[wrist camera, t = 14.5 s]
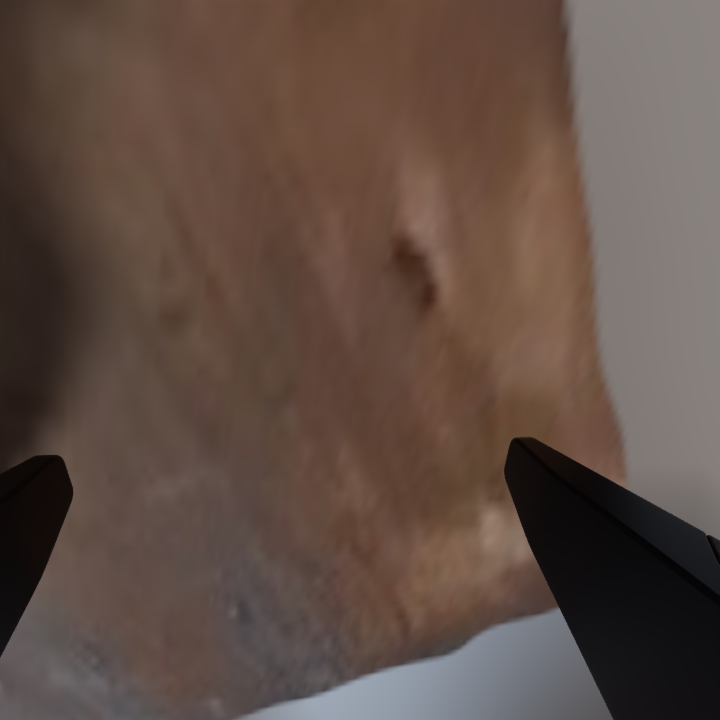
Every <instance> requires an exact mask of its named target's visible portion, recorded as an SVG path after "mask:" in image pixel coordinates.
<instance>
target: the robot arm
mask: <svg viewBox="0 0 720 720" xmlns="http://www.w3.org/2000/svg"><path fill="white" fill-rule="evenodd" d="M504 475H505V479H506V482H507V485H508V488H509V491H510V494H511V496H512V499H513V502H514V505H515V508H516V510H517V513H518V516H519V519H520V522H521V524H522V527H523V530H524V533H525V535H526V538H527V540H528V543H529V545H530V547H531V550H532V552H533V554H534V556H535V558H536V560H537V562H538V564H539V566H540V569H541V571H542V573H543V575H544V577H545V579H546V581H547V583H548V585H549V587H550V589H551V591H552V593H553V596H554V598H555V600H556V602H557V604H558V606H559V608H560V610H561V612H562V614H563V616H564V618H565V620H566V622H567V625H568V627H569V629H570V630H571V633H572V635H573V637H574V639H575V641H576V643H577V645H578V647H579V649H580V651H581V654H582V656H583V658H584V660H585V662H586V664H587V666H588V668H589V670H590V672H591V674H592V676H593V678H594V681H595V682H596V685H597V687H598V689H599V691H600V693H601V695H602V697H603V699H604V701H605V703H606V705H607V707H608V710H609V712H610V714H611V716H612V718H613V720H720V540H718V539H716V538H714V537H712V536H710V535H707V536H706V534H705V533H704V532H703V531H701V530H700V529H698V528H696V527H694V526H692V525H690V524H689V523H687V522H685V521H683V520H681V519H680V518H678V517H676V516H674V515H672V514H671V513H669V512H667V511H665V510H663V509H661V508H660V507H658V506H656V505H654V504H652V503H651V502H649V501H647V500H645V499H643V498H642V497H640V496H638V495H636V494H634V493H632V492H631V491H629V490H627V489H625V488H623V487H622V486H620V485H618V484H616V483H614V482H613V481H611V480H609V479H607V478H605V477H603V476H602V475H600V474H598V473H596V472H594V471H593V470H591V469H589V468H587V467H585V466H584V465H582V464H580V463H578V462H576V461H574V460H573V459H571V458H569V457H567V456H565V455H564V454H562V453H560V452H558V451H556V450H555V449H553V448H551V447H549V446H547V445H545V444H544V443H542V442H540V441H538V440H536V439H535V438H532V437H518V438H514V439H512V441H511V443H510V446H509V450H508V454H507V459H506V463H505V468H504ZM72 498H73V487H72V483H71V480H70V477H69V474H68V471H67V468H66V465H65V462H64V460H63V458H62V457H61V456H58V455H39V456H34V457H32V458H30V459H28V460H26V461H24V462H22V463H20V464H19V465H17V466H15V467H13V468H11V469H9V470H7V471H5V472H4V473H2V474H0V657H1V655H2V653H3V651H4V649H5V647H6V645H7V643H8V642H9V640H10V638H11V636H12V634H13V632H14V630H15V628H16V626H17V624H18V622H19V620H20V618H21V616H22V615H23V613H24V611H25V609H26V607H27V605H28V603H29V601H30V599H31V597H32V595H33V593H34V591H35V589H36V587H37V585H38V583H39V581H40V579H41V577H42V575H43V572H44V570H45V568H46V565H47V563H48V561H49V558H50V555H51V553H52V550H53V548H54V545H55V543H56V540H57V538H58V535H59V532H60V530H61V527H62V525H63V522H64V520H65V517H66V515H67V512H68V510H69V507H70V504H71V502H72Z"/></svg>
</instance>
